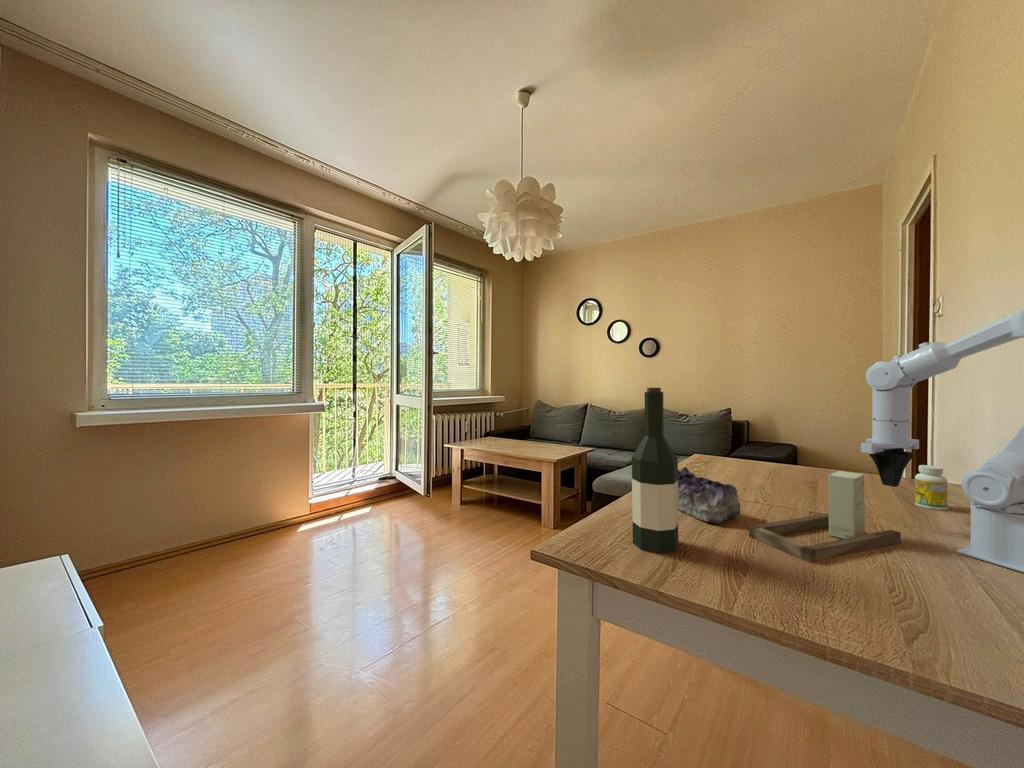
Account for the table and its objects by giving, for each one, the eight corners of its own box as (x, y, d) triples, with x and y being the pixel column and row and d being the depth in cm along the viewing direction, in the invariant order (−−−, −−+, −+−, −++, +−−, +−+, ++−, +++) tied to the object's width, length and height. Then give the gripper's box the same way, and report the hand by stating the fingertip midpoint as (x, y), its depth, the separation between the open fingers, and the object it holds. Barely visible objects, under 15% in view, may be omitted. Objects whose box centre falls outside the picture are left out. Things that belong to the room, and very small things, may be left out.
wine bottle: (683, 555, 73) (681, 388, 72) (634, 552, 75) (633, 388, 74) (674, 537, 81) (672, 386, 80) (630, 534, 83) (629, 387, 82)
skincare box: (855, 542, 77) (855, 478, 77) (827, 535, 81) (827, 474, 80) (865, 534, 81) (865, 473, 80) (837, 528, 84) (837, 469, 84)
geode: (646, 502, 104) (649, 463, 105) (683, 503, 108) (685, 465, 108) (708, 526, 85) (711, 478, 86) (750, 526, 89) (753, 480, 89)
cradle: (900, 543, 76) (900, 532, 76) (809, 562, 69) (809, 550, 69) (833, 521, 88) (833, 512, 88) (749, 536, 81) (748, 526, 81)
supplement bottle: (953, 511, 93) (953, 470, 93) (923, 509, 95) (923, 468, 94) (938, 504, 98) (938, 465, 98) (909, 502, 100) (909, 463, 99)
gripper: (891, 416, 90) (890, 477, 90) (844, 419, 86) (844, 483, 86) (932, 420, 83) (931, 485, 84) (884, 423, 79) (883, 492, 79)
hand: (890, 485), depth 84 cm, fingers closed
